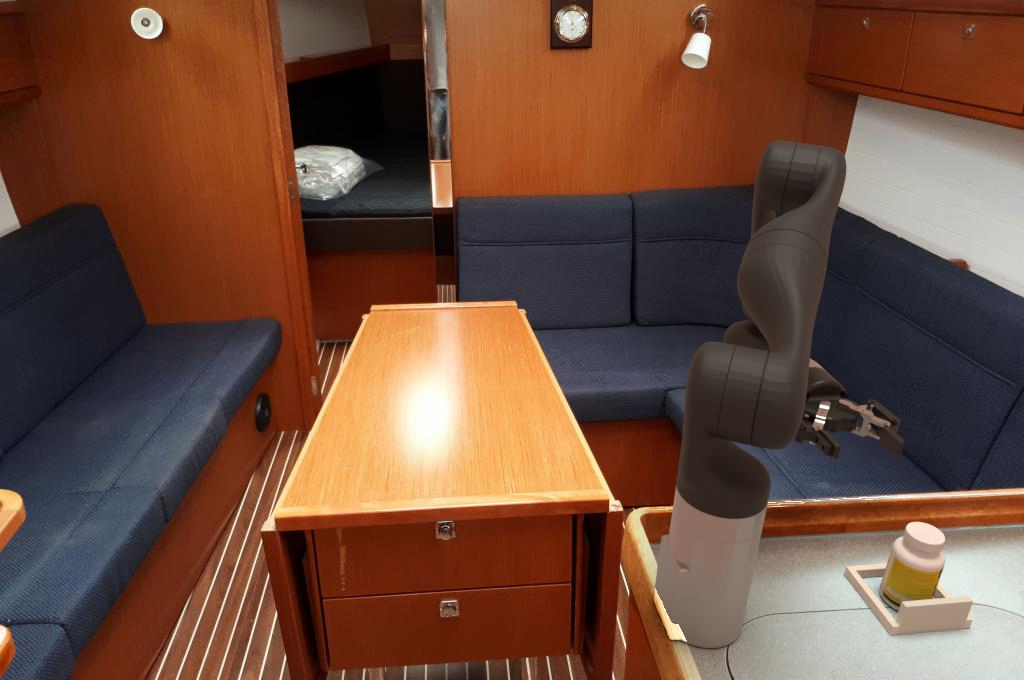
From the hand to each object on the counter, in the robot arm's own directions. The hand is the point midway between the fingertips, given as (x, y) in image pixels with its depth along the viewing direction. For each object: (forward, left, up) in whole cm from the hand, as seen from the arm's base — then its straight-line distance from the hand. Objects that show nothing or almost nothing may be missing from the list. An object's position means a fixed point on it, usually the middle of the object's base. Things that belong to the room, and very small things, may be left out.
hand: (868, 451), depth 93 cm
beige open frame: (0, -13, -12) cm, 18 cm away
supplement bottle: (0, -12, -13) cm, 18 cm away
